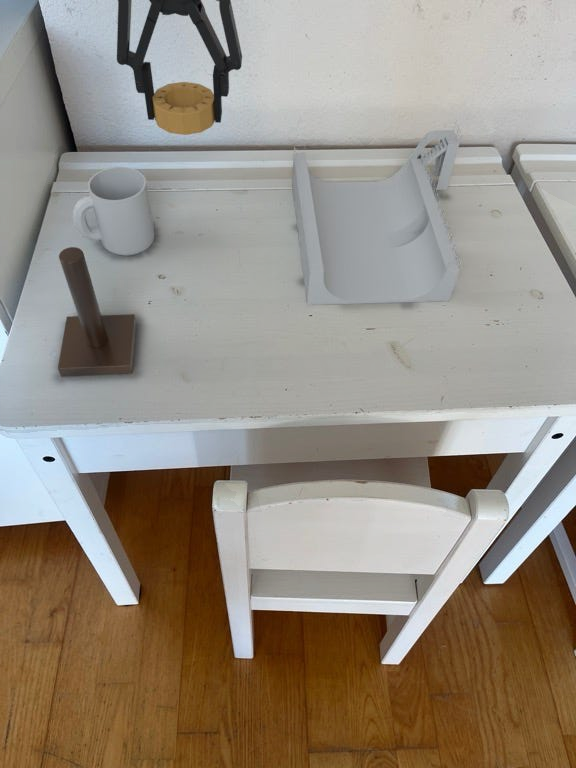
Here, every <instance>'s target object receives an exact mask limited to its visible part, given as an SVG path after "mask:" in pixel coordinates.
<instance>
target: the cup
mask: <svg viewBox="0 0 576 768" xmlns="http://www.w3.org/2000/svg"><path fill="white" fill-rule="evenodd" d="M87 190H88V195H83V196H82V197H81V198H79V199H78V200H77V201H76V203H75V204H74V206H73V210H72V221H73V225H74V227H75V229H76V231H77V233H79V235H80V236H81V237H82V238H84V239H85V240H88V241H91V242H93V241H94V242H98V241H101V244H102V246H103V247H104V248H105V249H106V250H107V251H109V252H110V253H113V254H115V255H118V256H127V257H129V256H135V255H139V254H142V253H143V252H144V251H147V250H148V249H149V248H150V247H151V246H152V244H153V242H154V240H155V235H156V234H155V227H154V221H153V215H152V214H153V213H152V209H151V208H152V207H151V203H150V197H149V190H148V185H147V180H146V176H145V175H144V174H143V173H142V172H140V171H139V170H137V169H136V168H133V167H129V166H128V167H127V166H112V167H108V168H104V169H102V170H99V171H97V172H96V173H94V174H93V175H92V176H91V177H90V179H89V180H88V183H87ZM90 209H92V210H93V214H94V218H95V221H96V226H97V227H95V228H91V227H90V225H89V223H88V221H87V211H89V210H90Z"/></svg>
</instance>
